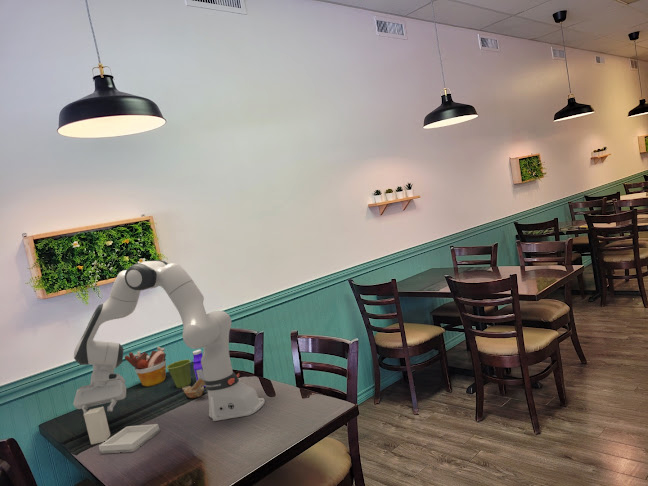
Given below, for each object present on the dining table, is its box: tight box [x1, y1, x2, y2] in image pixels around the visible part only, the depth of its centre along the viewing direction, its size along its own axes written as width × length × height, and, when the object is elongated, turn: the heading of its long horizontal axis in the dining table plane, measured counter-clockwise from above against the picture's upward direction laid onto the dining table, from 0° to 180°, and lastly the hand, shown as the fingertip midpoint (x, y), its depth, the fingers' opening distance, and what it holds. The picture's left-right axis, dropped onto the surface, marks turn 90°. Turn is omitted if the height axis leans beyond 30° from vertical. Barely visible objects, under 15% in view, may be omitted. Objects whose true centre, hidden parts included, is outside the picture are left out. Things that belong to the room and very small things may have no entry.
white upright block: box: [83, 406, 111, 445], centre depth 191 cm, size 6×6×12 cm
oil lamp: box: [181, 378, 205, 399], centre depth 221 cm, size 9×21×10 cm, turn 39°
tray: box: [98, 423, 161, 455], centre depth 182 cm, size 15×15×3 cm
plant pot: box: [166, 359, 192, 389], centre depth 242 cm, size 12×12×11 cm
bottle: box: [192, 349, 206, 388], centre depth 233 cm, size 7×6×17 cm
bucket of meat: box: [124, 346, 167, 388], centre depth 258 cm, size 20×16×20 cm
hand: (98, 413), depth 194 cm, fingers open, 8 cm apart
